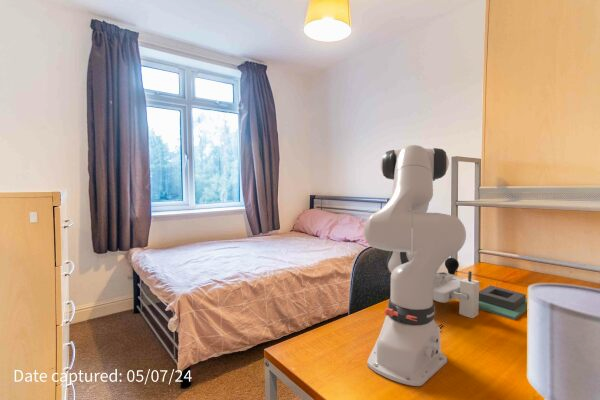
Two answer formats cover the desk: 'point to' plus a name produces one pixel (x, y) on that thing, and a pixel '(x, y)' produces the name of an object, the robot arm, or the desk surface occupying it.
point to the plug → (472, 304)
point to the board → (503, 311)
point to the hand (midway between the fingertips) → (471, 295)
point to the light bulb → (451, 265)
